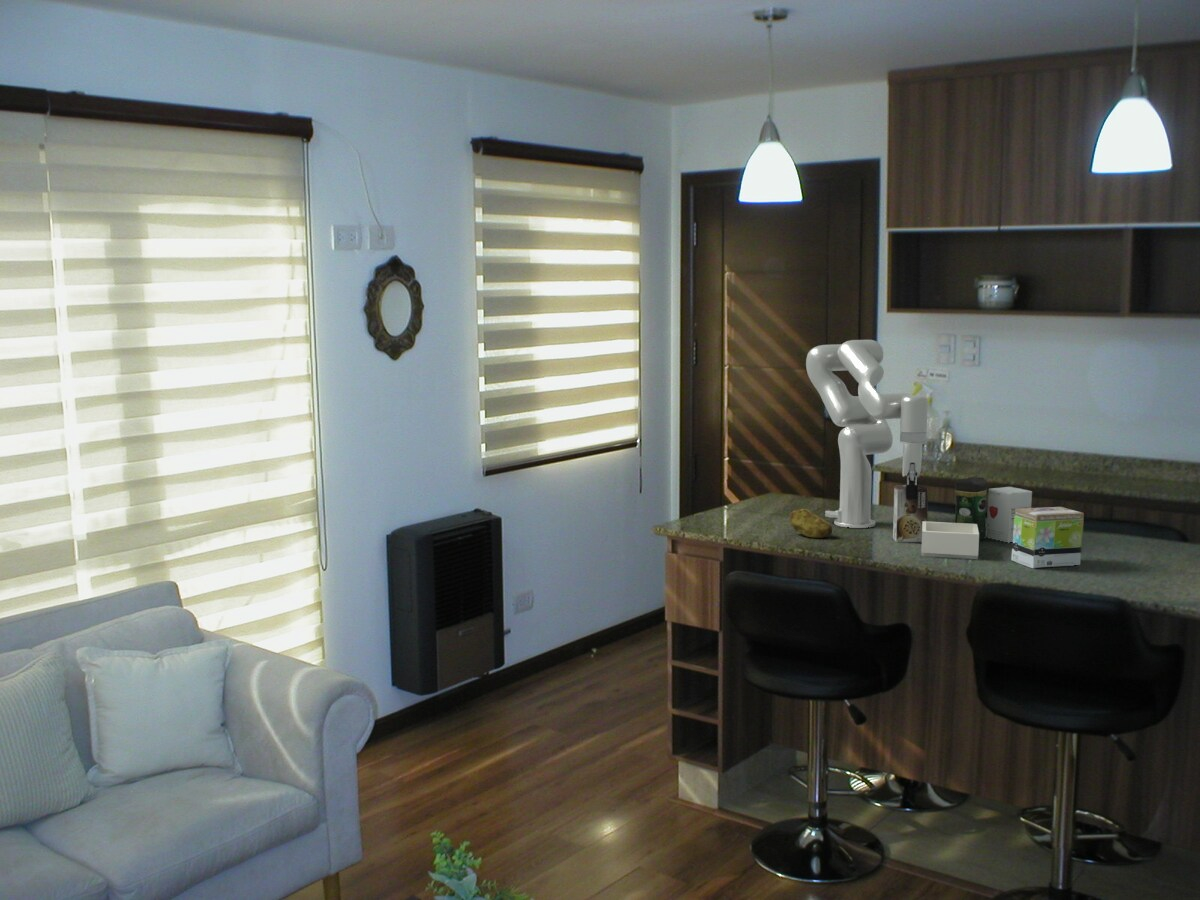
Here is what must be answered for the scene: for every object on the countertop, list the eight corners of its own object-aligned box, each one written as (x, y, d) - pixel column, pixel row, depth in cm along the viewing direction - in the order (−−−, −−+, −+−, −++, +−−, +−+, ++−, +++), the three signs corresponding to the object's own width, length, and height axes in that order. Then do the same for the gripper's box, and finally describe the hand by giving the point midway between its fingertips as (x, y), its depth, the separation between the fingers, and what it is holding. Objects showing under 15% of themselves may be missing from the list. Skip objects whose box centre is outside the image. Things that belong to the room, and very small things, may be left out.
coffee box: (923, 538, 349) (925, 484, 346) (927, 542, 342) (929, 488, 340) (892, 537, 349) (893, 484, 347) (895, 542, 343) (897, 487, 341)
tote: (921, 556, 325) (922, 531, 324) (921, 545, 339) (922, 521, 338) (978, 559, 321) (979, 534, 320) (975, 547, 335) (976, 523, 334)
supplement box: (984, 537, 349) (987, 488, 347) (1006, 535, 353) (1009, 486, 351) (1008, 543, 341) (1010, 493, 339) (1030, 540, 345) (1033, 490, 343)
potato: (816, 541, 344) (817, 514, 343) (784, 534, 354) (784, 508, 353) (835, 537, 349) (836, 511, 348) (802, 531, 359) (803, 505, 358)
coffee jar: (964, 534, 353) (967, 474, 351) (989, 538, 348) (992, 477, 345) (948, 539, 346) (951, 477, 344) (973, 543, 341) (976, 480, 338)
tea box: (1033, 569, 309) (1036, 514, 307) (1010, 561, 319) (1013, 507, 317) (1082, 565, 314) (1085, 511, 312) (1057, 557, 323) (1060, 505, 321)
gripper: (900, 434, 351) (899, 491, 353) (899, 441, 334) (897, 500, 336) (926, 435, 349) (925, 491, 351) (926, 441, 332) (925, 501, 334)
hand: (911, 495), depth 344 cm, fingers open, 9 cm apart
